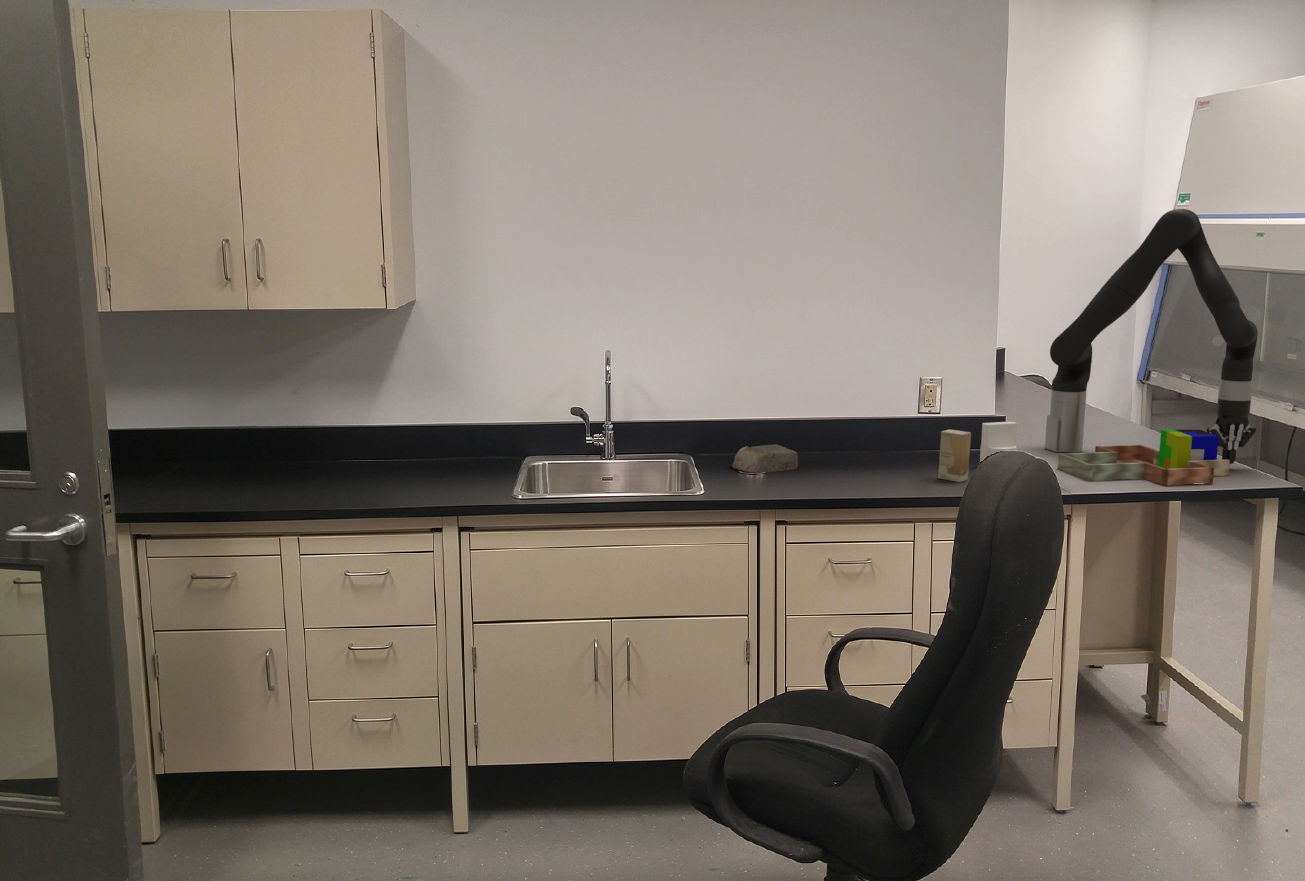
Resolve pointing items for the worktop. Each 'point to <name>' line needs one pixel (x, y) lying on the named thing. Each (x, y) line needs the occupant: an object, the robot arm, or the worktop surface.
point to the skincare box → (954, 455)
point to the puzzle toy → (1186, 447)
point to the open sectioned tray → (1137, 466)
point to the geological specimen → (765, 459)
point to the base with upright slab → (997, 438)
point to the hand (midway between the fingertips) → (1228, 463)
